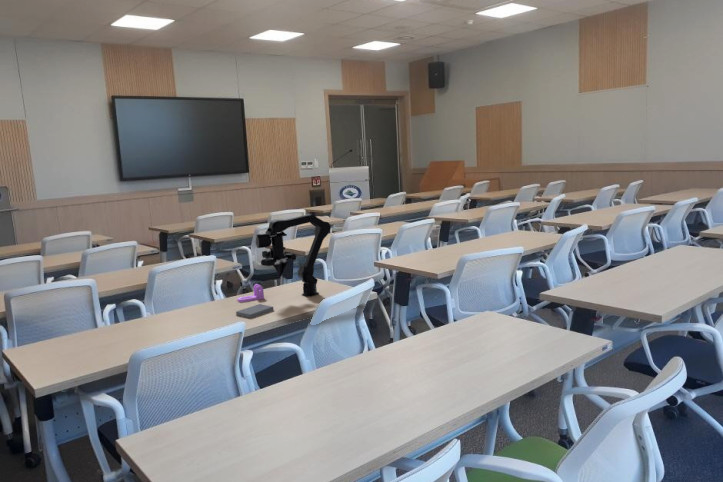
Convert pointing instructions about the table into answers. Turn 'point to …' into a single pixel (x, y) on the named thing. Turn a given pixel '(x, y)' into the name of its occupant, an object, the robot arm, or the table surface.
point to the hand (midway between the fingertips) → (280, 276)
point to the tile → (254, 311)
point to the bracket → (257, 295)
